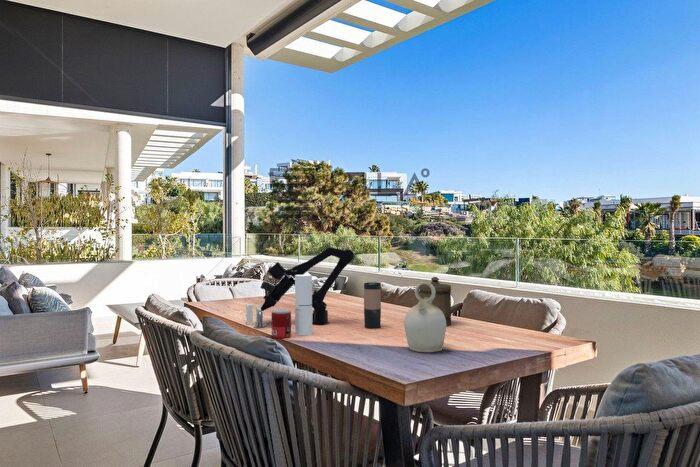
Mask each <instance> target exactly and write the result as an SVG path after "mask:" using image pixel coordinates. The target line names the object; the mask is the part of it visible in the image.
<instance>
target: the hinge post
mask: <svg viewBox="0 0 700 467" xmlns="http://www.w3.org/2000/svg"><path fill="white" fill-rule="evenodd" d="M263 312H264V311H262V312H257V321H256V323H257V324H256V326H253V329H258V328H262V329H265V327H266V328H267V325H264V324H263V322H264V320H263V318H264V316H263Z"/></svg>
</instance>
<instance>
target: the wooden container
mask: <svg viewBox="0 0 700 467" xmlns="http://www.w3.org/2000/svg"><path fill="white" fill-rule="evenodd" d="M439 281H440V279H439V278H438V276H433V277H431V282H430V283H431V284H432V285H433V286H434V288H435V292H436V294H435V297H434V299H433V301H432V303H431V304H432V305H434V306H436V307H438V308H439V309H440V310H441V311H442V312H443V314H444V316H445V319H446V327H449V326H451V325H452V302H451V301H452V299H451V298H452V297H451V296H452V295H451V293H452V286H451V285H450V284H448V283H447V284H444V283H440V282H439ZM431 294H432V292H431V289H430V288H429V287H428V286H427V285H423V286H421V287H420V289H419V295H420V296H421V297H422V298H426V297H428V298H430V296H431Z"/></svg>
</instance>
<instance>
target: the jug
mask: <svg viewBox="0 0 700 467" xmlns="http://www.w3.org/2000/svg"><path fill="white" fill-rule="evenodd" d="M423 285H427V286H428V287H429V288H430V289H431V292H432V294H431V296H430V298H428V297H426V298H422V297H421V296H420V295H419V291H420V290H419V289H420V287H421V286H423ZM435 294H436V292H435V288H434V286H433V285H432V284H431V282H430V281H426V280H423V281H421V282H419V283H418V284H416V286H415V288H414V295H415V298H416V299H417V300H418V303H417V304H415V305H414V306H412V307H411V308H410V309H408V310H407V312H406V313H405V317H404V321H403V324H404V325H403V326H404V327H403V328H404V332H405V337H406V342H407V345H408V349H409V350H410V351H413V352H417V353H425V354H426V353H427V354H428V353H431V354H432V353H438V352H440V351H442V350H443V346H444V343H445V338H446V331H447V326H446V319H445V316H444V314H443V312H442V311H441V310H440V309H439V308H438V307H436V306H434V305H432V304H431V303H432V301H433V299H434V297H435Z"/></svg>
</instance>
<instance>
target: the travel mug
mask: <svg viewBox="0 0 700 467" xmlns="http://www.w3.org/2000/svg"><path fill="white" fill-rule="evenodd" d="M381 286H382V285H381V282H373V281H371V282H370V281H369V282H364V283H363V316H364V317H363V318H364V320H363V321H364V328H365V329H368V330H369V329H370V330H377V329H380V328H381V323H382V322H381V321H382V320H381V319H382V318H381V317H382V303H381V302H382V299H381V298H382V297H381V296H382V295H381V291H382V290H381V289H382V288H381Z"/></svg>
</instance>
